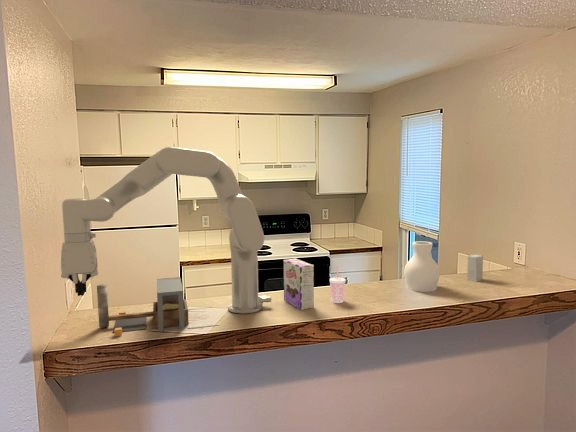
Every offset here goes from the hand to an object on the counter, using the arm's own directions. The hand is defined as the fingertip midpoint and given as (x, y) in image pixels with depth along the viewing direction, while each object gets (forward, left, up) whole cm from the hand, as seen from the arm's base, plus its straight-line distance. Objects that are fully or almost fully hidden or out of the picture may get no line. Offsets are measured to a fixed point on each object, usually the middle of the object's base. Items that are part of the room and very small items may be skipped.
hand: (81, 294), depth 140 cm
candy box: (-74, -3, -12) cm, 75 cm away
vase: (-129, -6, -12) cm, 129 cm away
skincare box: (-158, -9, -12) cm, 158 cm away
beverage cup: (-89, -1, -12) cm, 89 cm away
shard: (-27, 0, -12) cm, 30 cm away
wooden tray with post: (-27, 0, -12) cm, 30 cm away
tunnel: (-27, 0, -12) cm, 30 cm away
